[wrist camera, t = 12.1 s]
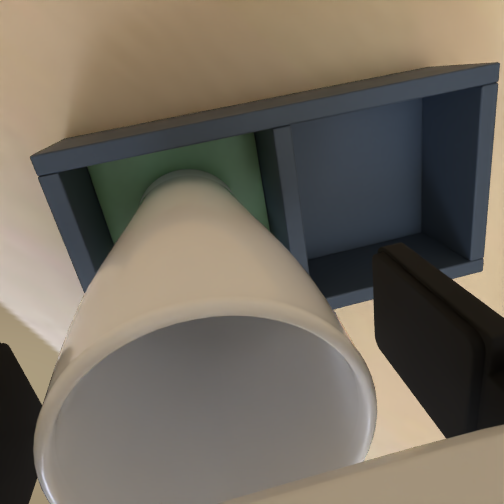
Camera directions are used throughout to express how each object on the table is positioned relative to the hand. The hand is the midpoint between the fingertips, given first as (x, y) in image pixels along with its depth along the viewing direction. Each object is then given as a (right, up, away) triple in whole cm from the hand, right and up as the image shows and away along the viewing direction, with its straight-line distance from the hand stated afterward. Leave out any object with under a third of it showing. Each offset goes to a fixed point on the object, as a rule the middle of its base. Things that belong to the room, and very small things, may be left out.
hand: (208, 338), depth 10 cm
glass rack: (+2, +5, +12) cm, 14 cm away
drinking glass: (-2, +4, +11) cm, 12 cm away
